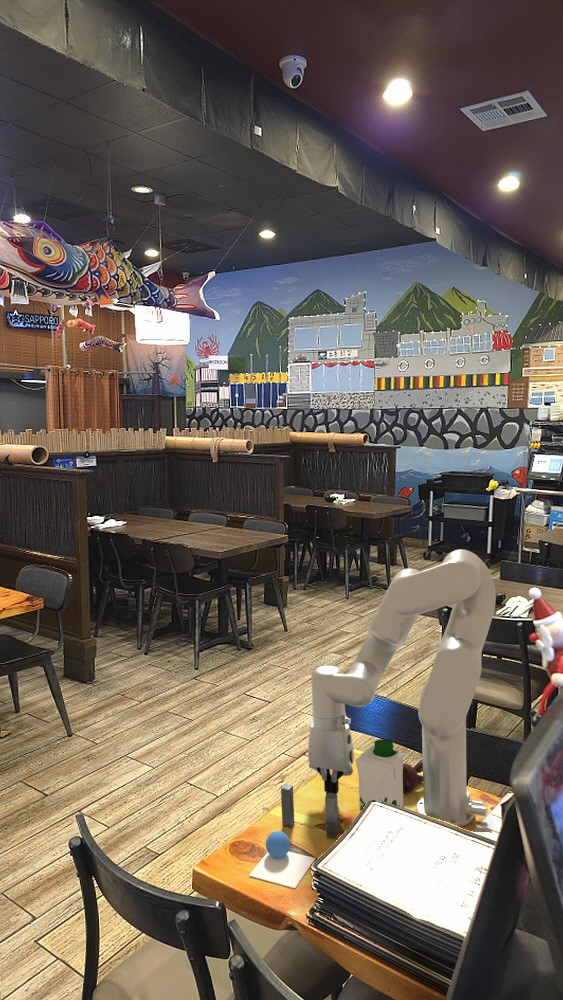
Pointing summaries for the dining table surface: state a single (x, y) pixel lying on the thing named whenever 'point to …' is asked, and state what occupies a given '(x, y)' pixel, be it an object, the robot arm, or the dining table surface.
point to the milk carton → (380, 774)
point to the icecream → (411, 776)
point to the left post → (287, 806)
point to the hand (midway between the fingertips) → (331, 794)
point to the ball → (277, 844)
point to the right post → (331, 815)
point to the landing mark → (283, 869)
